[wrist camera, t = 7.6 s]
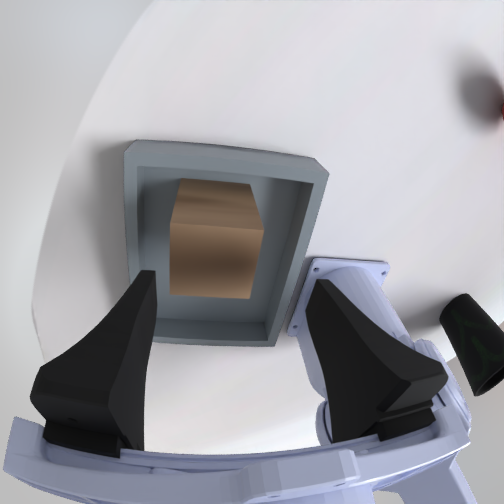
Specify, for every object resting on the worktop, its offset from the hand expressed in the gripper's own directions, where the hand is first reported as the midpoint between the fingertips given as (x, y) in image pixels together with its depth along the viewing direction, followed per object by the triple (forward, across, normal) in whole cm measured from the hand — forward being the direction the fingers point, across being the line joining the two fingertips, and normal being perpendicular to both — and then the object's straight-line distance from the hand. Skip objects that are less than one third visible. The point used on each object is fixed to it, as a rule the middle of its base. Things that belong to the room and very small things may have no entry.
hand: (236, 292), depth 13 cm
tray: (+9, 0, +4) cm, 10 cm away
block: (+9, +1, 0) cm, 9 cm away
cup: (+10, -31, +11) cm, 35 cm away
